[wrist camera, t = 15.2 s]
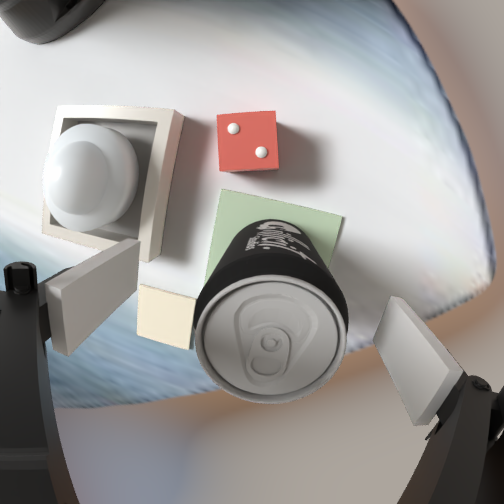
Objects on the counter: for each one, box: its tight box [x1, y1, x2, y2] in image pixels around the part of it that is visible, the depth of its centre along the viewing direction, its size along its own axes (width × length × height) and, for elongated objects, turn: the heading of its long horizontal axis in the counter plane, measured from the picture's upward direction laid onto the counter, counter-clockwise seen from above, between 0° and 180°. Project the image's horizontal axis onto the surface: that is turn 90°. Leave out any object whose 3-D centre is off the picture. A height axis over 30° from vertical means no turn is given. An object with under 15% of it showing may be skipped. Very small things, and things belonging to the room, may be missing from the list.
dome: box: [42, 124, 139, 232], centre depth 18 cm, size 8×8×5 cm
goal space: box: [204, 189, 342, 286], centre depth 22 cm, size 9×9×1 cm
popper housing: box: [42, 105, 185, 263], centre depth 21 cm, size 11×11×2 cm
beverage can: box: [193, 219, 348, 404], centre depth 16 cm, size 7×7×12 cm
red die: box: [217, 111, 279, 172], centre depth 19 cm, size 4×4×4 cm
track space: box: [137, 284, 196, 350], centre depth 24 cm, size 5×5×1 cm
